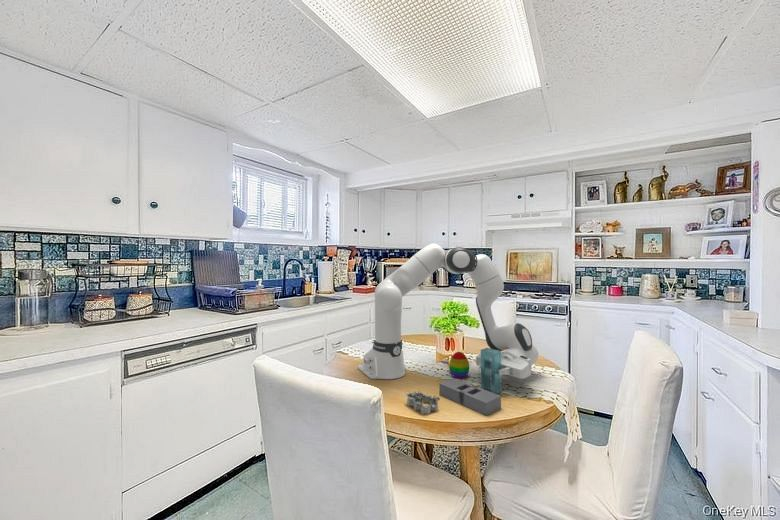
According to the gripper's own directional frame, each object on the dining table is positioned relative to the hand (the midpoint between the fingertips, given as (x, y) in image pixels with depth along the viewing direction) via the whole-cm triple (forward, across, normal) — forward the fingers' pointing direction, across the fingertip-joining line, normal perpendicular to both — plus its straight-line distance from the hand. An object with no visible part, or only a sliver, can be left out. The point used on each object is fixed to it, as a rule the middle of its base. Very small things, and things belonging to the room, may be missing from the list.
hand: (489, 369), depth 121 cm
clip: (-1, 0, +8) cm, 8 cm away
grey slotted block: (+12, 0, +8) cm, 15 cm away
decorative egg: (-3, -17, +8) cm, 19 cm away
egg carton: (+27, -7, +8) cm, 30 cm away
